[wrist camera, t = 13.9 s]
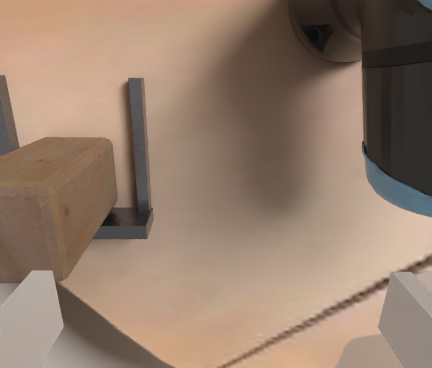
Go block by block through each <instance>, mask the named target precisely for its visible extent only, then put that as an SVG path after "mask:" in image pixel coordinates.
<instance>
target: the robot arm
mask: <svg viewBox="0 0 432 368" xmlns="http://www.w3.org/2000/svg"><path fill="white" fill-rule="evenodd" d="M289 10H290V17H291V22H292V25H293V28H294V30H295V33H296V35H297V36H298V38H299V40H300V41H301V42H302V44H303V45H304V46H305V47H306V48H307V49H308V50H309V51H310V52H311V53H313V54H314V55H316V56H318V57H320V58H322V59H325V60H328V61H332V62H351V61H358V60H362V100H363V136H364V140H363V142H362V152H363V155H364V157H365V166H366V176H367V179H368V182H369V183H370V184H371V186H372V188H373V189H374V191H375V192H376V193H377V194H378V195H379V196H381V197H382V198H383V199H385V200H386V201H388V202H390V203H391V204H393V205H395V206H397V207H400V208H402V209H405V210H407V211H410V212H413V213H416V214H420V215H424V216H428V217H432V0H289ZM63 327H64V325H63V320H62V315H61V310H60V305H59V300H58V295H57V291H56V286H55V281H54V276H53V271H48V270H32V271H31V272H30V274H29V275H28V276H27V277H26V278H25V279H24V280H23V281H22V283H21V284H20V285H19V286H18V287H17V288H16V289H15V290H14V291H13V293H12V294H11V295H10V296H9V297H8V298H7V299H6V301H5V302H4V303H3V304H2V305H1V306H0V368H40V367H41V365H42V363H43V361H44V360H45V358H46V356H47V355H48V353H49V351H50V349H51V348H52V346H53V344H54V342H55V341H56V339H57V337H58V336H59V334H60V332H61V330H62V329H63ZM378 328H379V329H380V331H381V332H382V334H383V336H384V337H385V339H386V340H387V342H388V343H389V345H390V347H391V348H392V350H393V351H394V353H395V354H396V356H397V358H398V359H399V361H400V362H401V364H402V365H403V367H404V368H432V293H431V292H430V291H429V290H428V289H427V288H426V287H425V286H424V285H423V284H422V283H421V282H420V281H419V280H418V278H416V276H415V275H414V274H413V273H412V272H392V273H391V277H390V281H389V285H388V289H387V293H386V297H385V301H384V305H383V309H382V313H381V317H380V321H379V326H378Z"/></svg>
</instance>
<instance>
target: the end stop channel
mask: <svg viewBox="0 0 432 368" xmlns="http://www.w3.org/2000/svg"><path fill="white" fill-rule="evenodd" d="M128 79H129V93H130V106H131V120H132V133H133V147H134V160H135V174H136V187H137V201H138V208H112V209H111V211H110V212H109V214H108V215H107V217H106V218H105V220H104V221H103V223H102V225H101V226H100V228H99V229H98V231H97V232H96V234H95V235H94V237H93V238H92V239H147V238H148V234H149V231H150V228H151V225H152V222H153V208H151V193H150V176H149V158H148V141H147V124H146V107H145V89H144V78H128ZM17 149H19V143H18V138H17V133H16V128H15V123H14V118H13V113H12V108H11V103H10V98H9V93H8V88H7V83H6V78H5V75H0V156H3V155H5V154H7V153H10V152H12V151H14V150H17Z"/></svg>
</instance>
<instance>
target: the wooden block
mask: <svg viewBox="0 0 432 368" xmlns="http://www.w3.org/2000/svg"><path fill="white" fill-rule="evenodd" d="M116 201H117V188H116V178H115V168H114V157H113V147H112V143H111V141H110V140H108V139H106V138H59V137H45V138H42V139H40V140H38V141H35V142H33V143H31V144H28V145H26V146H24V147H21V148H19V149H17V150H14V151H12V152H10V153H7V154H5V155H3V156H0V283H22V281H23V280H24V279H25V278H26V277H27V276H28V275H29V274H30V272H31V271H32V270H48V271H53V276H54V281H55V282H59V281H62V280H64V279H66V278H67V277H68V275H69V274H70V272H71V271H72V269H73V268H74V266H75V265H76V263H77V262H78V260H79V258H80V257H81V255H82V254H83V252H84V251H85V249H86V248H87V246H88V245H89V243H90V242H91V240H92V238H93V237H94V235H95V234H96V232H97V231H98V229H99V228H100V226H101V225H102V223H103V221H104V220H105V218H106V217H107V215H108V214H109V212H110V211H111V209H112V208H113V206H114V204H115V203H116Z"/></svg>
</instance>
